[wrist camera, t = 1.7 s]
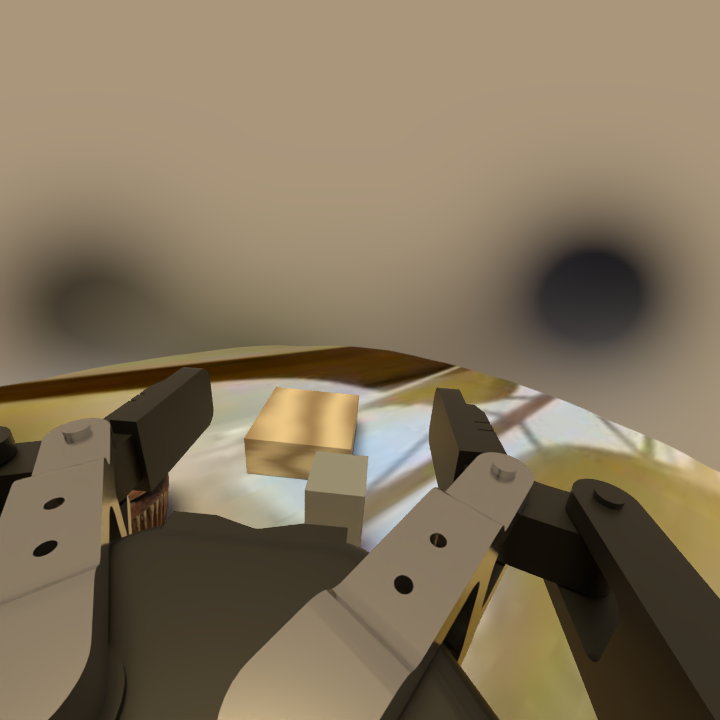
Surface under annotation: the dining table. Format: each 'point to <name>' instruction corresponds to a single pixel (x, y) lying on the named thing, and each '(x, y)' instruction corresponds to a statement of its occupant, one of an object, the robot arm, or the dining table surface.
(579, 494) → the robot arm
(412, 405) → the dining table surface
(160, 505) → the cupcake
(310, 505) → the grey block
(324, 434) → the birch plinth
